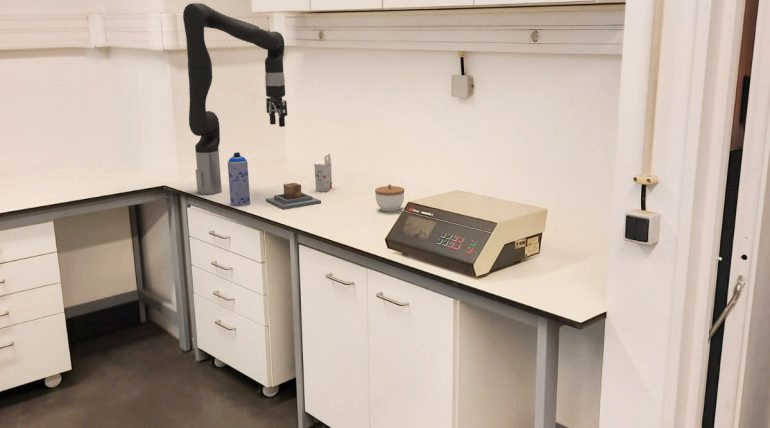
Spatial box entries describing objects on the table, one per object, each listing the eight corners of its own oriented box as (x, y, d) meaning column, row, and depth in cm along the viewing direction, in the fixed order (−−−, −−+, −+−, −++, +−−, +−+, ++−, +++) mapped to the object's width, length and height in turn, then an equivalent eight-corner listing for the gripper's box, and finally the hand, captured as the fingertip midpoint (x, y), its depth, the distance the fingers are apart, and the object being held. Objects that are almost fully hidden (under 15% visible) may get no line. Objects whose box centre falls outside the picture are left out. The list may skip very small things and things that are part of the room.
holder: (283, 209, 267) (282, 203, 266) (265, 201, 280) (265, 195, 279) (321, 203, 275) (320, 196, 275) (302, 195, 288) (302, 189, 288)
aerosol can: (239, 200, 282) (235, 150, 277) (254, 202, 278) (251, 151, 273) (225, 205, 275) (221, 153, 270) (241, 207, 271) (237, 155, 266)
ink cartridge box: (321, 187, 302) (319, 152, 299) (332, 187, 301) (331, 153, 298) (315, 191, 294) (313, 156, 290) (326, 192, 293) (325, 156, 289)
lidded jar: (398, 214, 257) (397, 189, 255) (370, 211, 261) (370, 186, 259) (408, 207, 267) (408, 182, 264) (382, 205, 271) (381, 180, 269)
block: (290, 201, 274) (289, 186, 272) (284, 199, 278) (283, 184, 276) (301, 199, 277) (301, 184, 275) (295, 197, 281) (294, 182, 279)
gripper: (258, 83, 283) (261, 124, 287) (273, 85, 272) (276, 128, 276) (276, 82, 287) (278, 122, 291) (291, 84, 276) (293, 126, 280)
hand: (277, 125), depth 284 cm, fingers open, 8 cm apart
